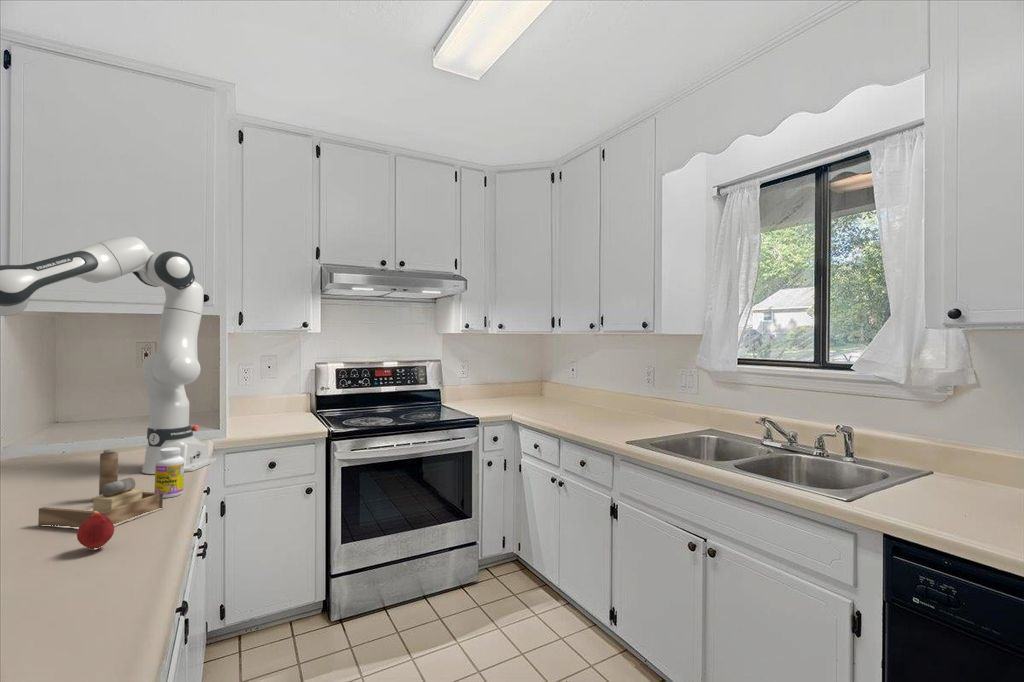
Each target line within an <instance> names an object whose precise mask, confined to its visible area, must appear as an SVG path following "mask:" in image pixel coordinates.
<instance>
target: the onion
mask: <svg viewBox="0 0 1024 682" xmlns="http://www.w3.org/2000/svg"><path fill="white" fill-rule="evenodd" d="M114 533H115V527H114V525H113V522H112V521H111V520H110V519H109V518H108V517H106V516H104V515H102V514H100V513H99V512H98V511H93V512H92V516H91V517H89V518H88V519H86V520H85V521H84V522H83V523H82V525H81V526H80V527H79V529H78V530H77V532H76V538H77V541H78V543H79V544H80V545H82V546H83V547H85V548H87V549H89V548H90V549H94V548H99V547H100V548H102V547H104V546H105V545H106V544H107V543H108V542H109V541H110V540H111V539H112V537H114ZM101 546H102V547H101ZM100 548H99V549H100ZM90 549H89V550H90Z"/></svg>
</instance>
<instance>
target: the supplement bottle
mask: <svg viewBox="0 0 1024 682" xmlns="http://www.w3.org/2000/svg"><path fill="white" fill-rule="evenodd" d="M180 452H181V451H180V448H179V447H170V448H163V449H161V450H160V454H161V458H159V459H158V460H157V461H156V464H155V474H154V491H153V493H163V499H169V498H174V497H177V496H180V495H182V494H183V492H184V482H185V481H184V480H185V479H184V478H185V472H184V459H183V458H182V457H180V456H179V454H180Z"/></svg>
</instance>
